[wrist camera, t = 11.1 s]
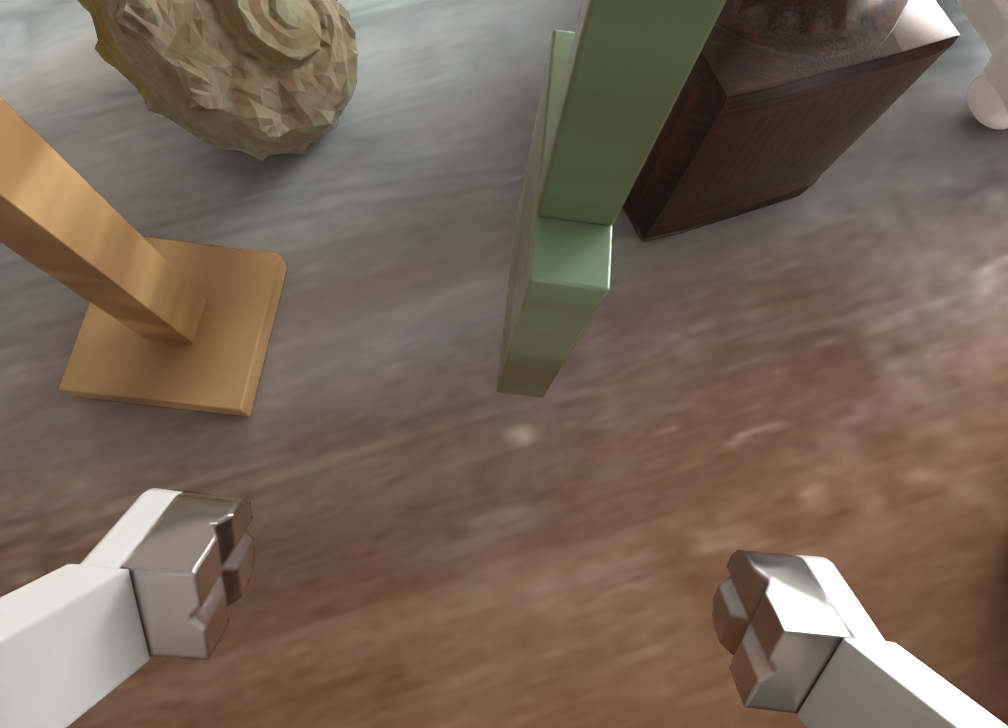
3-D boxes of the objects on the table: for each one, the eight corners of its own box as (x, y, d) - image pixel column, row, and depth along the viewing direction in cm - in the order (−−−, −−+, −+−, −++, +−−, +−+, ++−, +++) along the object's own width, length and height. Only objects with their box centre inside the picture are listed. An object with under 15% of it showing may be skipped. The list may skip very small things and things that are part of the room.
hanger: (543, 398, 18) (895, -163, 4) (496, 392, 18) (670, -203, 4) (556, 233, 20) (824, -563, 6) (514, 227, 20) (674, -595, 5)
